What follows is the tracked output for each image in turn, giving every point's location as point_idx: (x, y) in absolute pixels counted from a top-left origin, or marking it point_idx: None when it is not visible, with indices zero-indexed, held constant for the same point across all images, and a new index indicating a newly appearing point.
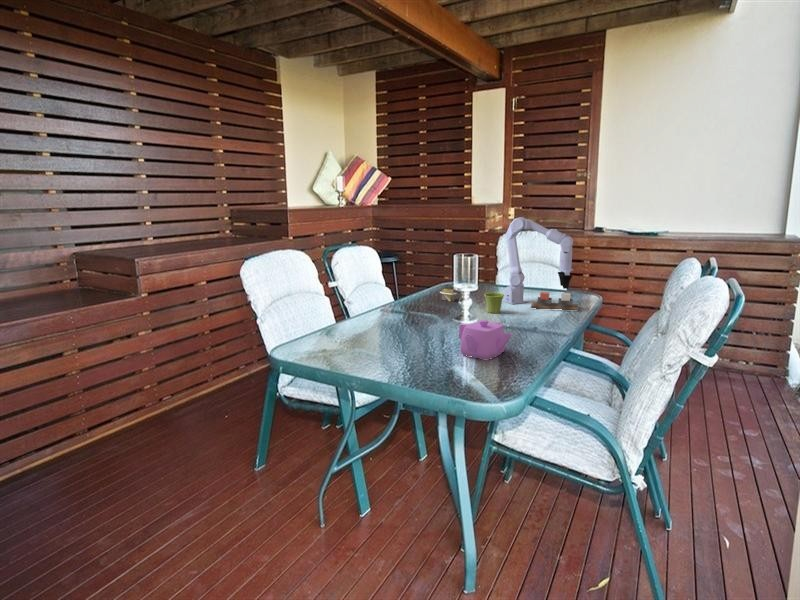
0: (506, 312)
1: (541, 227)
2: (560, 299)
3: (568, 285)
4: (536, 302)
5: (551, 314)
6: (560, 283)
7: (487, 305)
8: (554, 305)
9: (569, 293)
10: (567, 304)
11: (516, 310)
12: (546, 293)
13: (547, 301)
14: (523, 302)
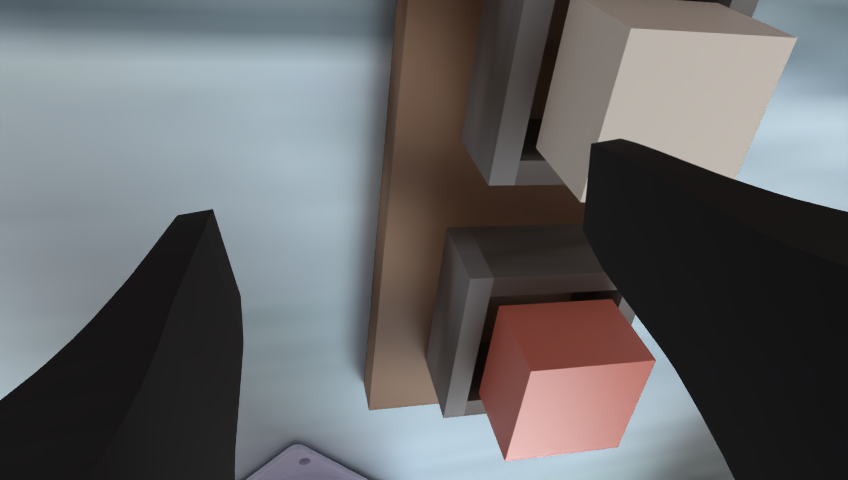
0: (700, 470)
1: None
2: (515, 151)
3: (683, 163)
4: (416, 374)
5: (826, 180)
6: (240, 351)
7: None
8: (566, 186)
9: (643, 51)
10: None
11: (640, 438)
12: (631, 389)
13: None
14: (333, 463)
